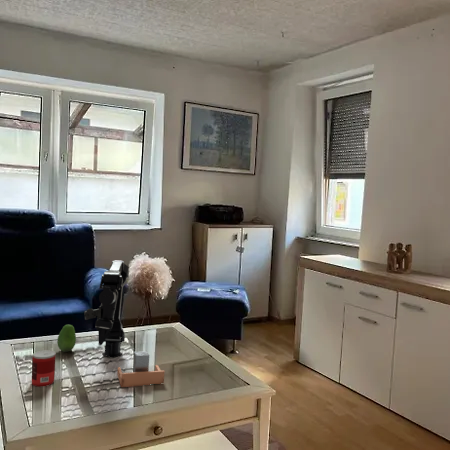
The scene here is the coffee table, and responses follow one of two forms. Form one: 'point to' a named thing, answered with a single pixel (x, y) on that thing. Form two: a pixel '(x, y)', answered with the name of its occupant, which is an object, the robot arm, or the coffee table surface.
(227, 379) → the coffee table surface
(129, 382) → the coupler dock
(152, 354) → the coffee table surface
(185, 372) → the coffee table surface
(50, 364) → the canned food
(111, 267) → the robot arm
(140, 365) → the block
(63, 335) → the fruit
